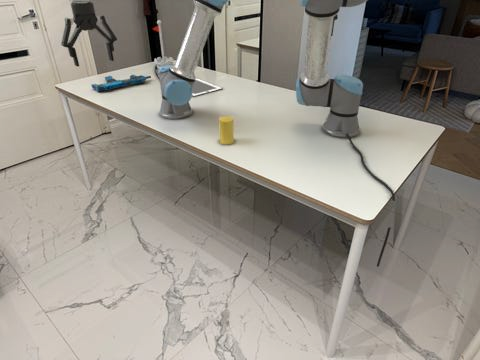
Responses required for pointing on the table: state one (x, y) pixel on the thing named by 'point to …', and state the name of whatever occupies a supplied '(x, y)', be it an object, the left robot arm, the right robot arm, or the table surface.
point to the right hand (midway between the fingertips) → (323, 33)
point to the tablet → (203, 87)
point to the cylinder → (226, 130)
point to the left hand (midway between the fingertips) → (94, 63)
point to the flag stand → (164, 60)
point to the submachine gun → (119, 82)
